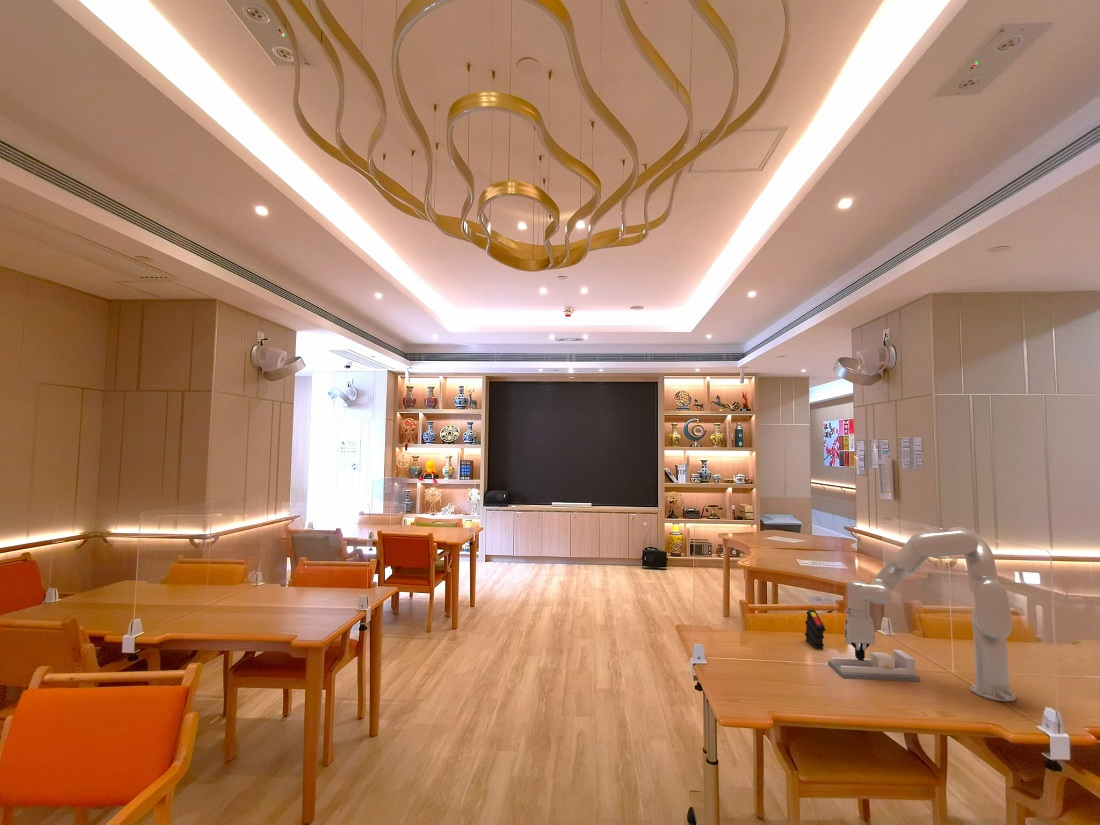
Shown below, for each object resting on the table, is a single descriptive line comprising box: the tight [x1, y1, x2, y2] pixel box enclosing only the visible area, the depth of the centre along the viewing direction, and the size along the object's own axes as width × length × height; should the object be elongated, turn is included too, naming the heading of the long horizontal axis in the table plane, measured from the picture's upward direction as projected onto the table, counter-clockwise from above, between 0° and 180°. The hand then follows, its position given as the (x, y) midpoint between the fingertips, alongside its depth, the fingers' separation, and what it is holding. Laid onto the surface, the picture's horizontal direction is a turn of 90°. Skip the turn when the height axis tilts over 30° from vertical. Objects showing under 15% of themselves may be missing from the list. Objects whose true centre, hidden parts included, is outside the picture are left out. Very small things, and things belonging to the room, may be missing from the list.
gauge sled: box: [869, 651, 895, 668], centre depth 216 cm, size 11×6×5 cm, turn 174°
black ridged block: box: [804, 609, 826, 650], centre depth 247 cm, size 4×13×15 cm, turn 177°
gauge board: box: [827, 649, 921, 682], centre depth 216 cm, size 14×28×8 cm, turn 84°
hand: (860, 659), depth 217 cm, fingers closed
